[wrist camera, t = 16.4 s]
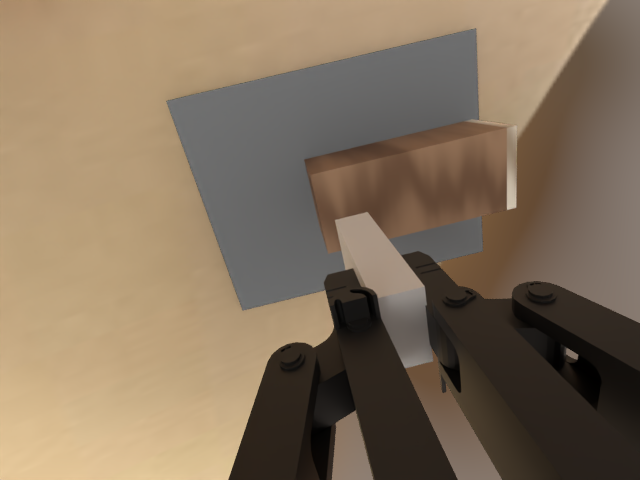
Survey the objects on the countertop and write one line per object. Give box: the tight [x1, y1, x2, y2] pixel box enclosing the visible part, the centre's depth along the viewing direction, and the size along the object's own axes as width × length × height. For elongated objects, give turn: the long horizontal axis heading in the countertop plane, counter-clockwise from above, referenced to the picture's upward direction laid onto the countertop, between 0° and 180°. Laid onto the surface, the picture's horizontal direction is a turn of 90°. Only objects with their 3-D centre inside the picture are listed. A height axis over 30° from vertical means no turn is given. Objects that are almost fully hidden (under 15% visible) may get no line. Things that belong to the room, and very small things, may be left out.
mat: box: [166, 28, 483, 310], centre depth 26 cm, size 16×20×1 cm
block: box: [304, 119, 517, 254], centre depth 23 cm, size 5×5×12 cm
